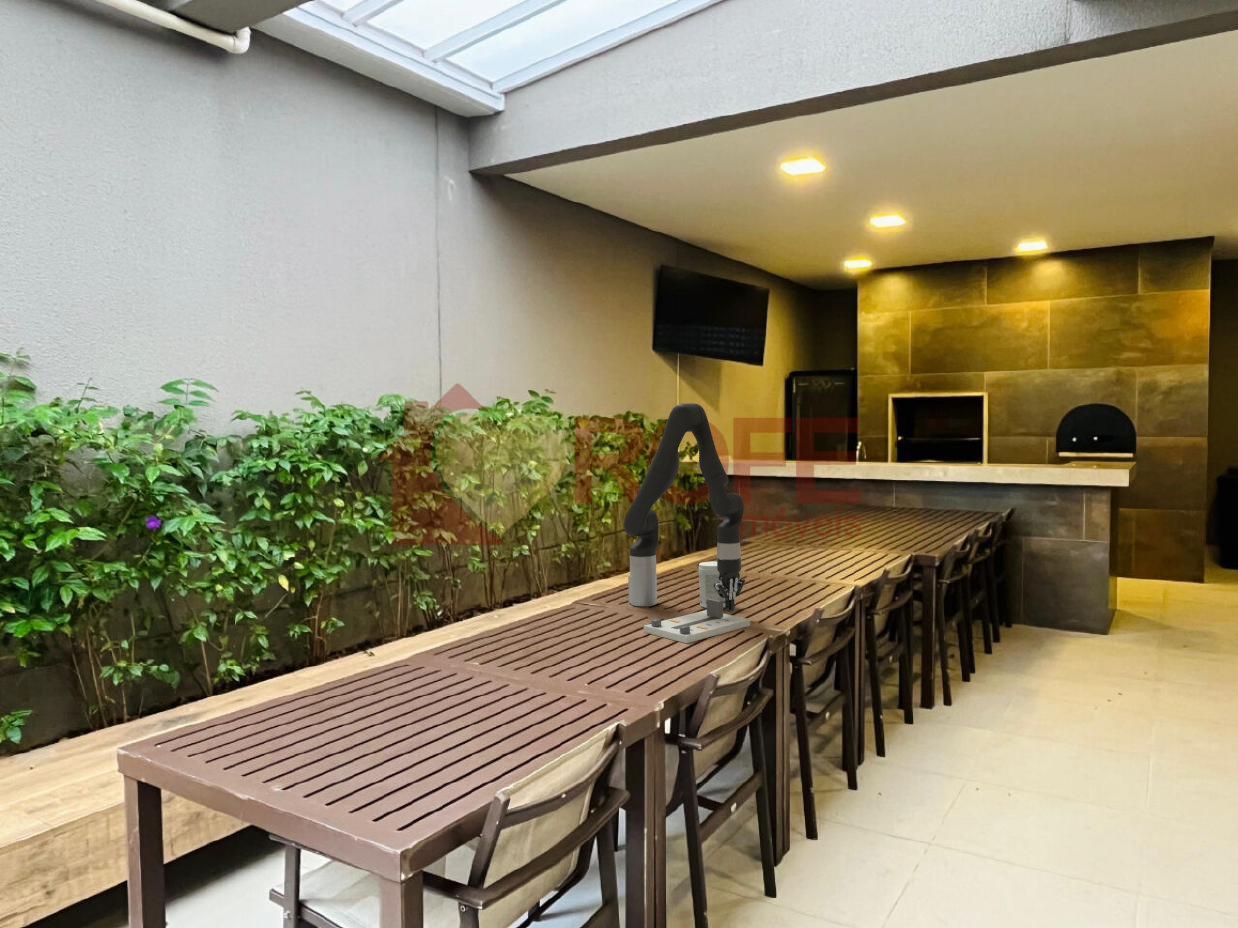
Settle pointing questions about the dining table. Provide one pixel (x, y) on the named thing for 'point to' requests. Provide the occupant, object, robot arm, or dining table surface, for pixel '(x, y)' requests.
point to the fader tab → (715, 608)
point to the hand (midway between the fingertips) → (729, 610)
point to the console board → (695, 626)
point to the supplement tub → (708, 583)
